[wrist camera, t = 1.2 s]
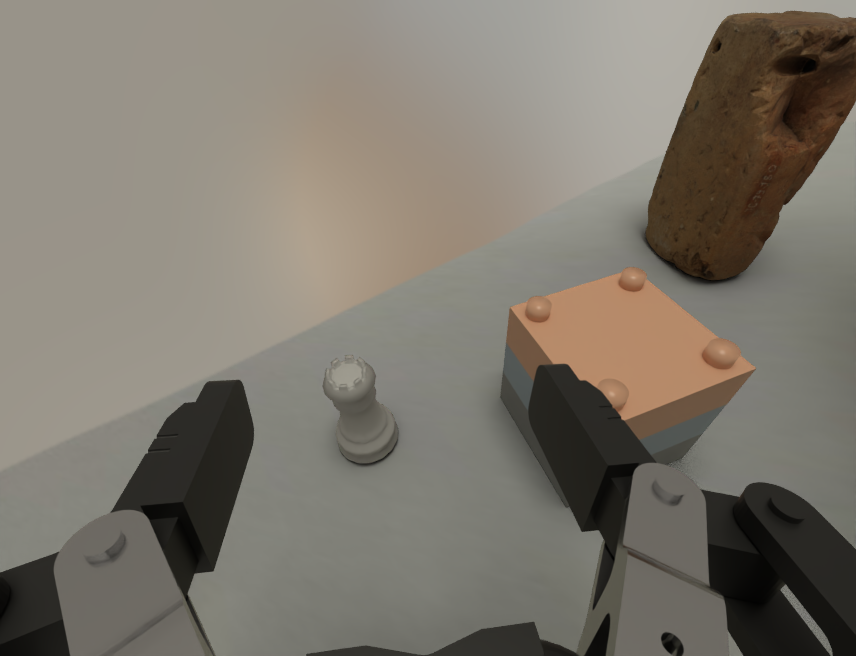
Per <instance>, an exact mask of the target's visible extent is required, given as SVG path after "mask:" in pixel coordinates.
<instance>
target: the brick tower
mask: <svg viewBox="0 0 856 656" xmlns="http://www.w3.org/2000/svg"><path fill="white" fill-rule="evenodd" d="M646 278H647V274H646V273H645V272H644V271H643V270H641V269H639V268H634V267H629V268H625V269H624V270H623V271H622V272H621V273H618V274H615V275H612V276H609V277H605V278H602V279H599V280H596V281H592V282H589V283H586V284H583V285H580V286H576V287H573V288H570V289H567V290H563V291H560V292H557V293H554V294H551V295H547V296H544V297H541V296H535V297H531V298H530V299H529V300H528V301H527V302H525V303H522V304H518V305H515V306H512V307H510V310H509V320H508V330H507V339H506V349H505V358H504V368H503V377H502V387H501V396H500V397H501V399H502V401H503V402H504V404H505V406H506V407H507V409H508V411H509V412H510V414H511V416H512V418H513V419H514V421H515V423H516V424H517V426H518V428H519V429H520V431H521V433H522V434H523V436H524V438H525V439H526V441H527V443H528V444H529V446H530V448H531V449H532V451H533V453H534V454H535V456H536V458H537V459H538V461H539V463H540V464H541V466H542V468H543V469H544V471H545V473H546V474H547V476H548V478H549V479H550V481H551V483H552V484H553V486H554V488H555V489H556V491H557V493H558V494H559V496H560V498H561V500H562V501H563V503H564V505H565V506H566V507H569V504H568V502H567V500H566V498H565V496H564V494H563V492H562V490H561V488H560V486H559V483H558V481H557V479H556V477H555V475H554V473H553V471H552V469H551V467H550V465H549V463H548V461H547V459H546V457H545V455H544V453H543V450H542V448H541V446H540V444H539V442H538V440H537V438H536V436H535V434H534V432H533V430H532V428H531V425H530V421H529V415H528V407H529V401H530V397H531V392H532V388H533V383H534V378H535V374H536V370H537V368H538V366H539V365H546V364H568V365H569V366H570V368H571V369H572V370H573V372H574V373H575V374H576V376H577V377H578V379H579V380H580V381H581V380H586V381H588V382H589V383H591V384H592V385H593V386H595V387H596V388H598V389H599V390H600V391H602V392H603V394H604V395H605V396H606V398H607V399H608V400H609V401H610V403H611V404H612V405H613V406H612V407H613V408H615V409H616V411H617V412H618V413H619V414H620V416H621V419H622V420H624V421H625V422H626V423H627V425H628V426H629V427H630V429H631V430H632V431H633V433H634V434H635V435H636V436H637V438H638V439H639V440H640V442H641V443H642V444H643V445H644V447H645V448H646V449H647V451H648V452H649V453H650V455H651V456H652V457H653V458H654V460H655V461H656V462H657V463H660V464H664V465H666V464H669V463H671V462H673V461H676V460H678V459H680V458H683V457H684V455H685V454H686V453H687V452H688V451H689V449H690V448H691V447H692V446H693V444H694V443H695V442H696V441H697V440H698V438H699V437H700V436H701V435H702V434H703V432H704V431H705V430H706V429H707V427H708V426H709V425H710V424H711V423H712V421H713V420H714V419H715V418H716V417H717V415H718V414H719V413H720V412H721V411H722V409H723V408H724V407H725V406H726V404H727V403H728V402H729V401H730V400H731V398H732V397H733V396H734V395H735V394H736V392H737V391H738V390H739V389H740V388H741V386H742V385H743V384H744V383H745V381H746V380H747V379H748V378H749V377H750V375H751V374H752V373H753V372H754V371H755V369H756V368H755V367H754V366H753V365H751V364H750V363H749V362H748V361H747V360H745V359H744V358H743V357H742V356H740V355H741V351H740V349H739V347H738V346H737V345H736V344H734V343H733V342H731V341H729V340H726V339H721V338H718V337H717V336H716V335H715V334H713V333H712V332H711V331H710V330H708V329H707V328H706V327H705V326H703V325H702V324H701V323H700V322H699V321H697V320H696V319H695V318H694V317H692V316H691V315H690V314H689V313H687V312H686V311H685V310H684V309H683V308H681V307H680V306H679V305H678V304H676V303H675V302H674V301H673V300H671V299H670V298H669V297H668V296H667V295H665V294H664V293H663V292H662V291H660V290H659V289H658V288H657V287H655V286H654V285H653V284H652V283H651V282H649V281H648V280H647V279H646Z"/></svg>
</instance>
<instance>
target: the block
mask: <svg viewBox="0 0 856 656" xmlns="http://www.w3.org/2000/svg"><path fill="white" fill-rule="evenodd" d="M855 101H856V18H851V17H849V18H839V17H837V16H834V15H832V14H828V13H818V12H814V13H813V12H802V11H786V12H784V13H769V14H767V13H742V14H734V15H730V16H727V18H725V19H724V20H723V21H722V23H721V24H720V26H719V27H718V29H717V31H716V33H715V34H714V36H713V38H712V40H711V43H710V45H709V47H708V49H707V51H706V53H705V56H704V59H703V61H702V63H701V65H700V67H699V69H698V72H697V74H696V76H695V78H694V81H693V85H692V87H691V90H690V92H689V94H688V96H687V99H686V102H685V104H684V107H683V110H682V112H681V114H680V117H679V119H678V122H677V125H676V128H675V131H674V133H673V135H672V138H671V141H670V144H669V146H668V149H667V151H666V154H665V157H664V160H663V162H662V165H661V168H660V172H659V174H658V177H657V180H656V183H655V186H654V189H653V193H652V196H651V199H650V201H649V205H648V226H647V228H646V238H647V240H648V242H649V244H650V246H651V247H652V248H653V249H654V251H655V252H656V253H657V254H658V255H659V256H661V257H662V258H663V259H665V260H667V261H670V262H672V263H675V265H676V267H677V268H679V269H681V270H683V271H684V272H686V273H687V274H690V275H692V276H695V277H702V278H704V279H708V280H721V279H726V278H729V277H732V276H736V275H738V274H739V273H741V272H743V271H744V270H745V269H747V267H748V266H749V265H750V264H751V263H752V262H753V260H754V259H755V258H756V256H757V255H758V254H759V252H760V251H761V249H762V247H763V245H764V243H765V241H766V240H767V239H768V238H769V237H770V236H771V234H772V232H773V230H774V228H775V226H776V225H777V223H778V220H779V212H780V211H781V209H782V206H783V205H786V204H787V203H788V202H789V201H790V200H791V199H792V198H793V196H794V195H795V194H796V192H797V191H798V190H799V189H800V188H801V187H802V185H803V184H804V182H805V181H806V179H807V178H808V177H809V176H810V174H811V173H812V172H813V170H814V168H815V167H816V165H817V163H818V162H819V160H820V159H821V158H822V156H823V155H824V154H825V152H826V151H827V149H828V148H829V146H830V145H831V143H832V141H833V140H834V138H835V136H836V134H837V133H838V131H839V129H840V126H841V125H842V124H843V123H844V121H845V119H846V118H847V116H848V114H849V113H850V111H851V109H852V107H853V105H854V103H855Z"/></svg>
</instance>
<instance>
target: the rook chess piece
mask: <svg viewBox="0 0 856 656" xmlns="http://www.w3.org/2000/svg"><path fill="white" fill-rule="evenodd" d="M331 365H332V368H331V369H326V372H325V378H324V382H323V389H324V393H325V395H326V396H327V397H328V398H329V399H330V400H333V404H334V406H335V407H336V408H337V409H338V410H339V411H340V418H339V420H338V423H337V429H336V438H337V441H338V445H339V448H340V451H341V452H342V454H343V455H344V456H345V457H346V458H347V459H349V460H351V461H354V462H356V463H372V462H374V461H377V460H379V459H382V458H383V457H385V456H386V455H387V454H388V453H389V452H390V451H391V450H392V449H393V447H394V445H395V443H396V441H397V439H398V427H397V424H396V422H395V419H394V417H393V414H392V413H391V412H390V411H389V410H388V409H387V408H386V407H385V406H384V405H383V404H380V403H379V402H377V400H376V399H375V395H376V389H375V387H374V384H375V377H376V375H375V372H374V370H373V368H372V367H371V366H370V365H368V364H367V363H365V361H364V360H363V359H361V358H360V357H359V358H358V359H357V360H354V357H353V355H345V361H342V362H339V360H338V358H336V359H335V360H334V361H332V362H331Z"/></svg>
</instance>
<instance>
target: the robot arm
mask: <svg viewBox="0 0 856 656" xmlns="http://www.w3.org/2000/svg"><path fill="white" fill-rule="evenodd" d="M612 406H613V405H612V404H611V403H610V401H609V400H608V399H607V398H606V396H605V395H604V394H603V392H602V391H600V390H599V389H598V388H596V387H595V386H593V385H592V384H591V383H589V382H588V381H586V380H581V381H580V380H579V379H578V377H577V376H576V374H575V373H574V372H573V370H572V369H571V368H570V366H569V365H568V364H546V365H539V366H538V368H537V370H536V374H535V378H534V383H533V388H532V392H531V397H530V401H529V407H528V415H529V421H530V425H531V428H532V430H533V432H534V434H535V436H536V438H537V440H538V442H539V444H540V446H541V448H542V450H543V453H544V455H545V457H546V459H547V461H548V463H549V465H550V467H551V469H552V471H553V473H554V475H555V477H556V479H557V481H558V483H559V486H560V488H561V490H562V492H563V494H564V496H565V498H566V500H567V502H568V504H569V506H570V508H571V510H572V512H573V514H574V516H575V519H576V521H577V523H578V525H579V527H580V529H581V531H582V532H585V531H594V530H599V531H600V533H601V535H602V537H603V539H604V540H603V543H602V545H601V549H600V554H599V559H598V564H597V569H596V574H595V579H594V584H593V589H592V594H591V599H590V604H589V609H588V614H587V618H586V622H585V626H584V629H583V632H582V635H581V638H580V641H579V645H578V648H577V652H576V653H575V652H573V651H571V650H569V649H567V648H564V647H562V646H560V645H557V644H554V643H551V642H548V641H544V640H540V638H539V635H538V632H537V629H536V626H535V623H534V622H529V623H522V624H515V625H508V626H501V627H494V628H487V629H481V630H479V631H477V632H475V633H473V634H471V635H469V636H467V637H465V638H463V639H461V640H459V641H457V642H455V643H452V644H450V645H448V646H446V647H444V648H442V649H440V650H438V651H436V652H434V653H432V654H429V655H417V654H411V653H406V652H400V651H394V650H388V649H382V648H377V647H371V646H359V647H352V648H345V649H338V650H331V651H324V652H317V653H310V654H306V656H729V645H728V631H729V633H730V634H731V636H732V638H733V639H734V641H735V643H736V644H737V646H738V647H739V649H740V651H741V652H742V654H743V656H830V654H829V653H828V652H827V651H826V649H825V648H824V647H823V645H822V644H821V643H820V641H819V640H818V639H817V638H816V636H815V635H814V634H813V632H812V631H811V630H810V628H809V627H808V626H807V624H806V623H805V622H804V621H803V619H802V618H801V617H800V615H799V614H798V613H797V611H796V610H795V609H794V608H793V606H792V605H791V604H790V602H789V601H788V600H787V598H786V597H785V596H784V594H783V593H782V592H781V591H780V589H781V588H782V587H783V586H784V585H785V584H786V585H787V586H788V588H789V589H790V590H791V591H792V593H793V594H794V595H795V597H796V598H797V599H798V600H799V602H800V603H801V604H802V605H803V607H804V608H805V609H806V611H807V612H808V613H809V614H810V616H811V617H812V618H813V619H814V621H815V622H816V623H817V624H818V626H819V627H820V628H821V630H822V631H823V632H824V634H825V635H826V637H827V639H828V641H829V643H830V645H831V648H832V652H833V656H856V549H855V548H854V547H853V546H852V545H851V544H850V543H849V542H848V541H847V540H846V539H845V538H844V537H843V536H842V535H841V534H840V533H839V532H838V531H837V530H836V529H835V528H834V527H833V526H832V525H831V524H830V523H829V522H828V521H827V520H826V519H825V518H824V517H823V516H822V515H821V514H820V513H819V512H818V511H817V510H816V509H815V508H814V507H813V506H811V505H810V504H809V503H808V502H806V501H805V500H804V499H802V498H801V497H799V496H798V495H796V494H794V493H793V492H791V491H789V490H787V489H784V488H782V487H779V486H777V485H773V484H769V483H760V482H758V483H752V484H750V485H748V486H747V487H746V488H745V490H744V491H743V493H742V494H741V496H740V497H737V496H732V495H726V494H721V493H716V492H711V491H705V490H701V489H700V488H699V487H698V486H697V484H696V483H695V482H694V481H693V480H691V479H690V478H689V477H688V476H687V475H685V474H684V473H682V472H680V471H679V470H677V469H675V468H672V467H670V466H667V465H664V464H660V463H657V462H656V461H655V460H654V458H653V457H652V456H651V455H650V453H649V452H648V451H647V449H646V448H645V447H644V445H643V444H642V443H641V442H640V440H639V439H638V438H637V436H636V435H635V434H634V433H633V431H632V430H631V429H630V427H629V426H628V425H627V423H626V422H625V421H624V420H622V419H621V416H620V414H619V413H618V412H617V411H616V409H615V408H613V407H612ZM253 440H254V426H253V421H252V417H251V413H250V409H249V405H248V402H247V398H246V394H245V390H244V386H243V384H242V382H241V381H240V380H226V381H209V382H207V383H206V384H205V385H204V387H203V389H202V391H201V393H200V395H199V397H198V398H197V400H196V402H192V403H184V404H183V405H182V406H181V407H179V408H178V409H177V410H176V411H175V412H174V413H172V414H171V415H170V416H169V417H168V418H167V419H166V421H165V422H164V424H163V426H162V427H161V429H160V431H159V432H158V434H157V439H154V441H153V442H152V444H151V446H150V447H149V449H148V454H145V456H144V458H143V459H142V461H141V463H140V464H139V466H138V468H137V469H136V471H135V473H134V474H133V476H132V478H131V479H130V481H129V483H128V484H127V486H126V488H125V489H124V491H123V493H122V494H121V496H120V498H119V500H118V501H117V503H116V505H115V506H114V508H113V510H112V511H111V513H109V514H106V515H104V516H101V517H99V518H97V519H95V520H94V521H92V522H90V523H88V524H87V525H85V526H84V527H83V528H81V529H80V530H79V531H78V532H76V533H75V534H74V535H73V536H72V537H71V538H70V539H69V540H68V541H67V542H66V543H65V545H64V546H63V547H62V549H61V550H60V552H57V553H55V554H52V555H49V556H46V557H44V558H41V559H38V560H35V561H32V562H29V563H26V564H24V565H21V566H18V567H15V568H12V569H9V570H6V571H4V572H1V573H0V656H216V655H215V653H214V650H213V648H212V646H211V644H210V642H209V639H208V637H207V635H206V633H205V630H204V628H203V626H202V624H201V621H200V619H199V617H198V615H197V612H196V610H195V608H194V606H193V604H192V601H191V599H190V597H189V595H188V591H189V588H190V585H191V582H192V579H193V576H194V573H203V572H212V571H214V568H215V565H216V562H217V558H218V555H219V552H220V549H221V546H222V542H223V539H224V536H225V533H226V530H227V526H228V523H229V520H230V517H231V514H232V510H233V507H234V504H235V501H236V498H237V494H238V491H239V488H240V485H241V482H242V478H243V475H244V472H245V469H246V466H247V462H248V459H249V456H250V453H251V450H252V446H253Z"/></svg>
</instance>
